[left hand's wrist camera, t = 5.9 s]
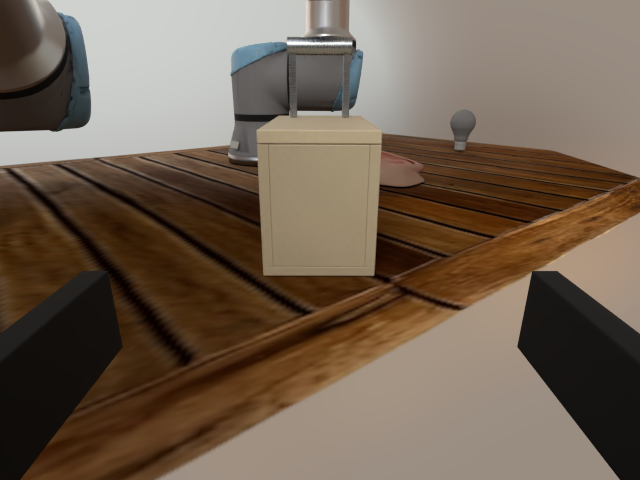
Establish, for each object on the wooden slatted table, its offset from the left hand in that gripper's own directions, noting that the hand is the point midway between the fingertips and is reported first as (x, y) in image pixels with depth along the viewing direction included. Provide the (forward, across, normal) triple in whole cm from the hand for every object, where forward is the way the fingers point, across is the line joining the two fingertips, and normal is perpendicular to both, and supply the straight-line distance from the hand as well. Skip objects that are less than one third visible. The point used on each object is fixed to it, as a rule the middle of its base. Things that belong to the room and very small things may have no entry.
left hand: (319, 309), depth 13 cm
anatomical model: (+60, +13, -8) cm, 62 cm away
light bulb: (+94, +36, -8) cm, 101 cm away
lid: (+29, 0, +3) cm, 29 cm away
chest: (+29, 0, -8) cm, 30 cm away
